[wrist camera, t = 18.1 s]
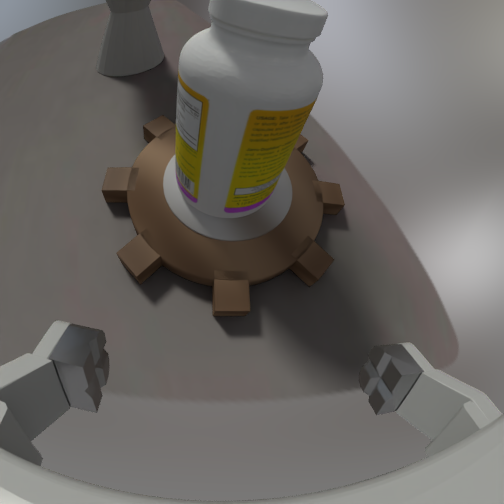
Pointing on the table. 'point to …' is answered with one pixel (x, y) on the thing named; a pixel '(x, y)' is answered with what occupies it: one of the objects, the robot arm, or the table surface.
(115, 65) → the lava lamp
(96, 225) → the table surface
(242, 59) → the supplement bottle
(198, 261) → the gear platform
